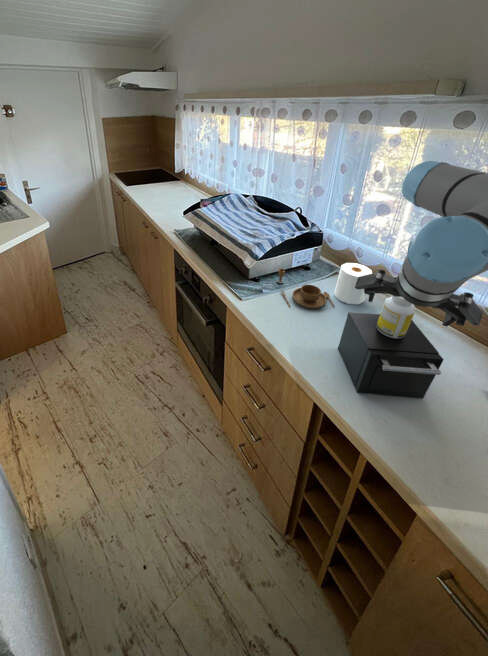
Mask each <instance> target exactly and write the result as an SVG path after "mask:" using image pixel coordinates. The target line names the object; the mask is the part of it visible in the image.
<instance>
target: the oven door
mask: <svg viewBox="0 0 488 656" xmlns="http://www.w3.org/2000/svg"><path fill="white" fill-rule="evenodd" d="M443 362H444V358H443V357H442V356H441V354H439V355H438V354H424V353H410V352H396V351H382V350H368V353H367V356H366V358H365V361H364V364H363V367H362V370H361V372H360V375H359V378H358V381H357V383H356V386H355V387H354V389H355V391H356V393H357V394H367V395H378V396H387V397H389V396H390V397H400V398H401V397H402V398H413V399H421V400H422V399H424V398H425V396H426V394H427V392H428V390H429V389H430V386H431V385H432V383H433V381H434V379H435V377H436V375H437V376H440V375H441V374H442V371H441V370H440V368H441V366H442V365H443Z"/></svg>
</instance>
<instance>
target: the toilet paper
mask: <svg viewBox="0 0 488 656" xmlns="http://www.w3.org/2000/svg"><path fill="white" fill-rule="evenodd" d="M372 273H373V270H372V269H371V268H370V267H368V266H366V265H364V264H360V263H357V262H345V263H343V264H341V266H340V270H339V273H338V277H337V281H336V286H335V289H334V297H335V298H336V299H338V300H339V301H340V302H343V303H345V304H348V305H360V304H362V303H364V301H365V298H366V296H367V294H365V293H364V289H356V288H355V285H356V282H357V279H358V277H360V276H364V275H368V274H372Z"/></svg>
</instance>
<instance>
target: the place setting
mask: <svg viewBox="0 0 488 656" xmlns="http://www.w3.org/2000/svg"><path fill="white" fill-rule="evenodd" d="M277 273H278V274H277V275H278V276H279V278H278V280H279V282H282V281H283V277H284V276H285V273H286V270H285V269H284V268H279V269H278V272H277ZM280 294H281V296H282V297H284V300H285V301H286V304H287V306H288V307H289V308H291V305H290V303H289V301H288V299H287V296H286V292H285V290H283V289H282V290H281V291H280ZM292 299H293V300H294V302H295V303H296V304H298V305H299V306H301V307H304V308H306V309H307V308H308V309H314V310H315V309H319V308H322V307H324V306H325V305H326V303H327V299H328V301H329V302H330V304H331V306H332V307H333V308H335V307H336V305H335V304H334V303H333V301H332V300H331V298H330V294H329V293H328V292H326V291H324V292H322V290H321V289H320V288H319V287H318V286H317V285H313V284H303V285H302V286H301V287H299V288H295V289H294V290H293V291H292Z"/></svg>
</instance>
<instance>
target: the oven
mask: <svg viewBox="0 0 488 656" xmlns="http://www.w3.org/2000/svg"><path fill="white" fill-rule="evenodd" d="M380 314H381V313H371V312H370V313H368V312H367V313H366V312H353V311H351V312H350V311H349V312H348V313H347V315H346V319H345V323H344V326H343V329H342V333H341V336H340V340H339V343H338V347H337V350H338V352H339V354H340V357H341V359H342V362H343V364H344V366H345V368H346V371H347V373H348V376H349V378H350V380H351V383H352V385H353V387H354V388H355V386H356V383H357V381H358V378H359V375H360V372H361V370H362V367H363V364H364V361H365V358H366V356H367V353H368V350H382V351H396V352H410V353H424V354H438V355H440V353H439V351H438V350H437V348H436V347H435V346H434V345H433V343H431V341H430V340H429V339H428V338H427V336H426V335H425V334H424V333H423V331H422V330H421V329H420V328H419V326H418V325H417V324H416V323H415V322H414V320H413V319H412V320H411V323H410V325H409V327H408V330H407V332H406V334H405V336H404V337H402V338H391V337H388V336H386V335H384V334H382V333H381V332H380V331H379V330H378V328H377V322H378V320H379V317H380Z"/></svg>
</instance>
